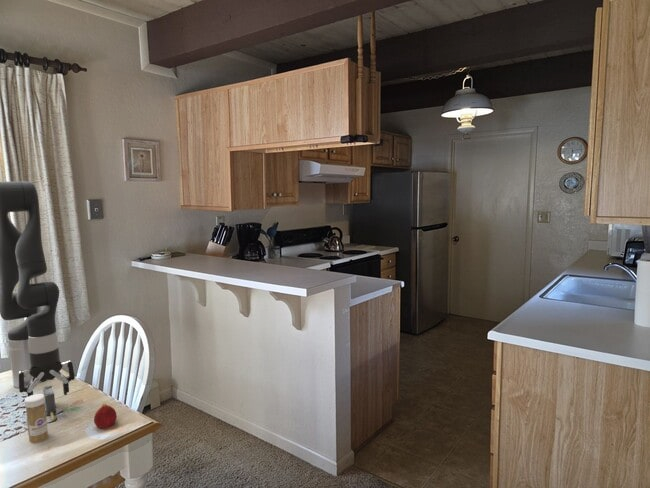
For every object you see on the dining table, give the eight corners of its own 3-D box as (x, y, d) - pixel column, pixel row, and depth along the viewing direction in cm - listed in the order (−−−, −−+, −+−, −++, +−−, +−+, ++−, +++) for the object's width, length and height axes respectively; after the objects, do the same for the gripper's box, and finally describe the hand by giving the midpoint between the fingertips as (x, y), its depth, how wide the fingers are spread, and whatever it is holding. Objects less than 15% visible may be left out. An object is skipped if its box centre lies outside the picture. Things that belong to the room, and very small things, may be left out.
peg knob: (44, 405, 136) (42, 387, 135) (53, 402, 137) (51, 384, 136) (48, 422, 126) (46, 403, 125) (58, 420, 127) (56, 400, 126)
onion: (122, 425, 126) (120, 400, 125) (106, 436, 121) (104, 410, 120) (106, 422, 128) (104, 397, 127) (90, 433, 123) (88, 406, 122)
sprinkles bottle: (36, 449, 115) (31, 402, 114) (25, 445, 117) (20, 399, 115) (53, 440, 120) (48, 394, 118) (41, 436, 121) (36, 391, 119)
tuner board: (28, 411, 135) (27, 407, 135) (82, 397, 144) (82, 392, 144) (31, 434, 122) (31, 430, 122) (90, 417, 131) (90, 413, 131)
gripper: (69, 339, 138) (74, 387, 140) (14, 349, 129) (20, 400, 131) (72, 345, 132) (77, 396, 134) (15, 357, 123) (21, 410, 125)
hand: (49, 398), depth 132 cm, fingers open, 8 cm apart
